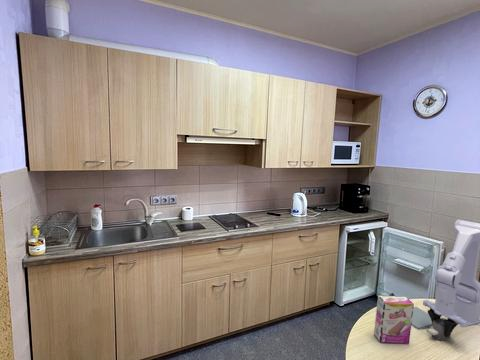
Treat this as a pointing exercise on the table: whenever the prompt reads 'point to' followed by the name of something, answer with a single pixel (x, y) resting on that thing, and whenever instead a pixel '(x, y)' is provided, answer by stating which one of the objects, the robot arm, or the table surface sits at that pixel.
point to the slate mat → (420, 319)
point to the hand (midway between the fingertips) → (441, 332)
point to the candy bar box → (393, 319)
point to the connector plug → (438, 330)
